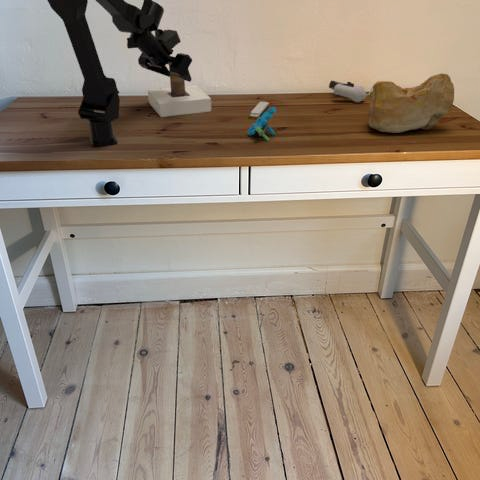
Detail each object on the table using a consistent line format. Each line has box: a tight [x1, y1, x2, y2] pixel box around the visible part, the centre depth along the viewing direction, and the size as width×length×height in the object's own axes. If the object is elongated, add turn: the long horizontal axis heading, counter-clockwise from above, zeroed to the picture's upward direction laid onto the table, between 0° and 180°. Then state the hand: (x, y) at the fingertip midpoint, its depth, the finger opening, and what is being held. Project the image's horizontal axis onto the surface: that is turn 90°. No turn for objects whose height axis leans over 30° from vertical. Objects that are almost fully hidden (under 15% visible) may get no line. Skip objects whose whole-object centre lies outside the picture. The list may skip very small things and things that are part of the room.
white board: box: [147, 84, 212, 118], centre depth 148 cm, size 16×16×4 cm
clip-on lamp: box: [328, 80, 373, 103], centre depth 156 cm, size 12×6×18 cm
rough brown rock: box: [367, 73, 455, 134], centre depth 132 cm, size 23×17×15 cm
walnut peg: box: [168, 65, 186, 98], centre depth 145 cm, size 5×5×13 cm
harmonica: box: [248, 101, 271, 120], centre depth 145 cm, size 15×3×2 cm, turn 163°
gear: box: [247, 106, 277, 142], centre depth 127 cm, size 11×6×10 cm
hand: (180, 78), depth 145 cm, fingers open, 9 cm apart
